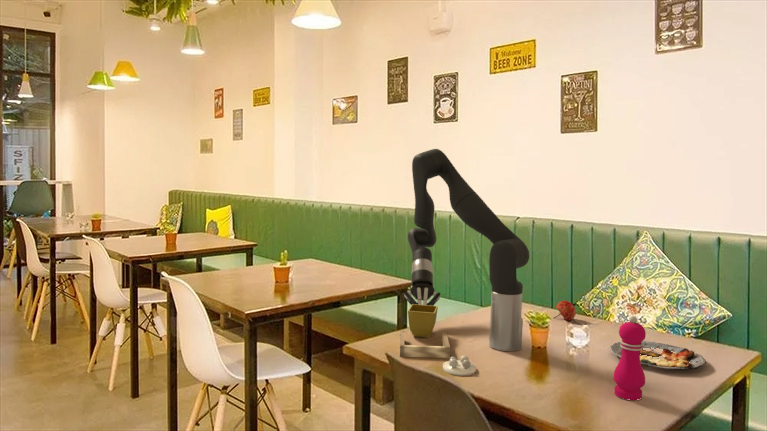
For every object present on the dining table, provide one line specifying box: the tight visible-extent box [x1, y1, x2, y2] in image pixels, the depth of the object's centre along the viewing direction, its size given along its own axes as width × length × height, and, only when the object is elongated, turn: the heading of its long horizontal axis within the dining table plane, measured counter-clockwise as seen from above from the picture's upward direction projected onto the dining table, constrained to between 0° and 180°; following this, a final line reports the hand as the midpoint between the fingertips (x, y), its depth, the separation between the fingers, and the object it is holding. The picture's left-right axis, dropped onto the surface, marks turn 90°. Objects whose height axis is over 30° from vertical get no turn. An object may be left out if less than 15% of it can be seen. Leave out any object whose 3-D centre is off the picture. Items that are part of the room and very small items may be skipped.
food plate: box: [609, 340, 707, 371], centre depth 168 cm, size 25×23×4 cm
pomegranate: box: [553, 299, 578, 321], centre depth 209 cm, size 7×7×10 cm
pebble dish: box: [442, 354, 477, 377], centre depth 156 cm, size 9×9×3 cm
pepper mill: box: [612, 315, 647, 401], centre depth 140 cm, size 7×7×20 cm
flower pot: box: [407, 304, 439, 338], centre depth 186 cm, size 9×9×9 cm
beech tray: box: [399, 330, 451, 359], centre depth 173 cm, size 14×15×3 cm
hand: (422, 317), depth 191 cm, fingers closed
